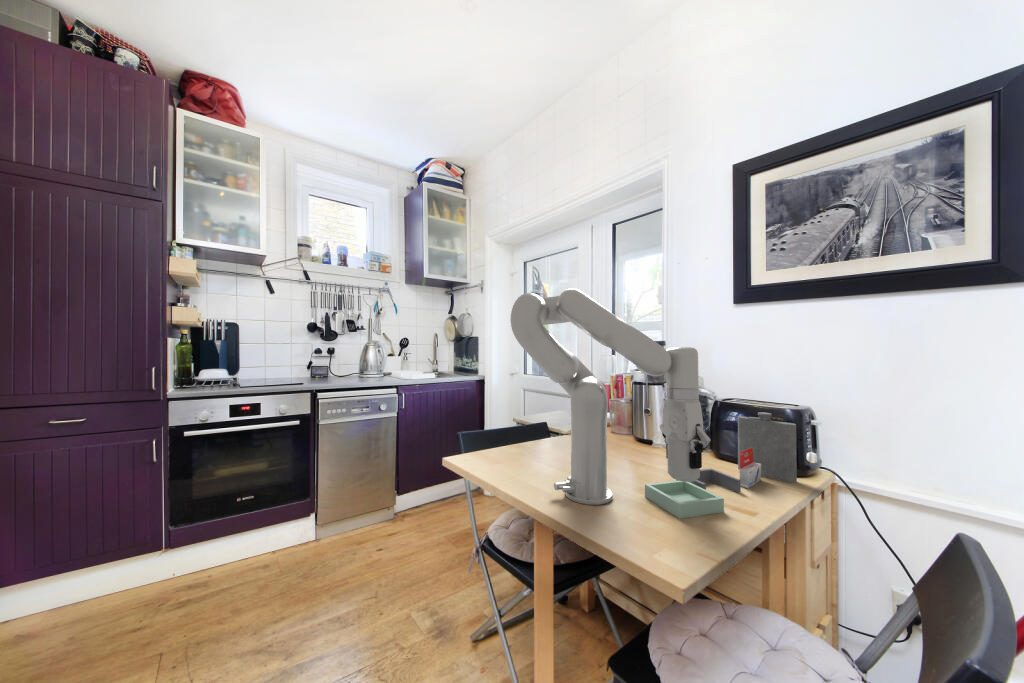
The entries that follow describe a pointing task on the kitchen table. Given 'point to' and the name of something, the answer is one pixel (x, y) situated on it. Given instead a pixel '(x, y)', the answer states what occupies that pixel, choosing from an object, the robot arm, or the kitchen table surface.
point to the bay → (717, 480)
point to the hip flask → (769, 445)
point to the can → (680, 459)
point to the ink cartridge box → (749, 469)
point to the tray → (684, 498)
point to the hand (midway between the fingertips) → (683, 462)
